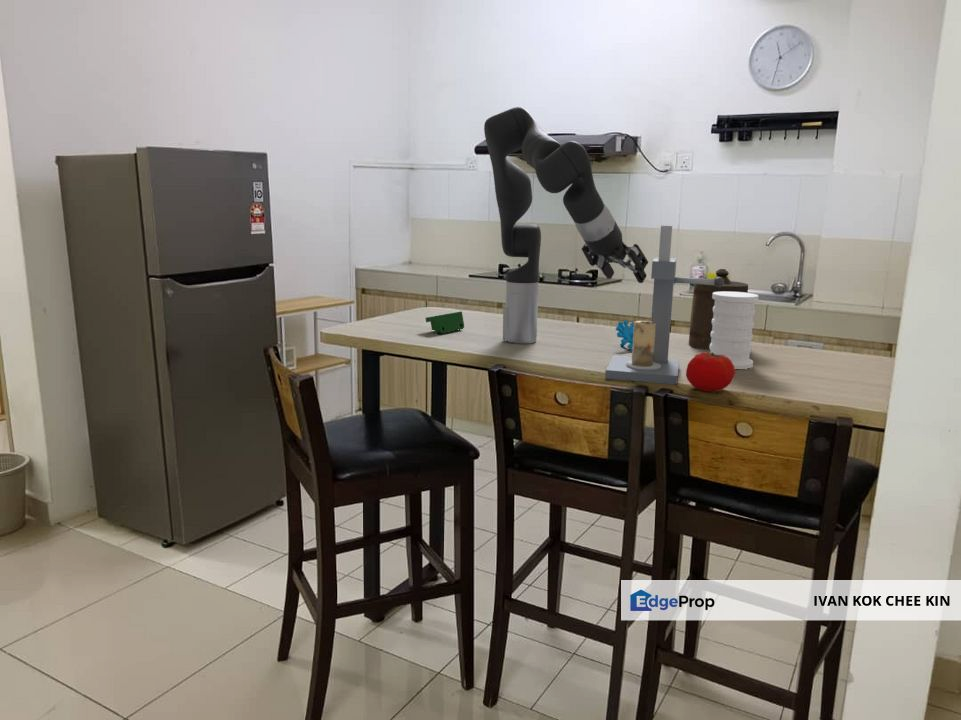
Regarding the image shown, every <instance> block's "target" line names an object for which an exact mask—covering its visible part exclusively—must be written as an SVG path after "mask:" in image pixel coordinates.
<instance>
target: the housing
mask: <svg viewBox="0 0 961 720" xmlns="http://www.w3.org/2000/svg"><path fill="white" fill-rule="evenodd" d="M633 323H634V327H633V328H634V334H633V348H632V349H631V350H632V352H631V357H632V365H635V366H641V367H649V366H653V359H654V345H655V331H656V323H655V322H651V320H650V321H649V320H635V321H633Z"/></svg>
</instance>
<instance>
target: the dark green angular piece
mask: <svg viewBox="0 0 961 720" xmlns="http://www.w3.org/2000/svg"><path fill="white" fill-rule="evenodd" d="M429 322H430V326H431V331H432V330H435V331H434V332H435V334H437V333H443V334H447V333H446V332H448V333H451V332H450V331H453V332H455V331H454V330H458V329H463V328H464V329H465V321H464V315H463V311H457V312H450V313H445V314H439V315H433V316H429V317H428V316H427V317H425V323H429ZM464 329H463V330H464ZM458 331H459V330H458Z"/></svg>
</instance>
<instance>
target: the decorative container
mask: <svg viewBox="0 0 961 720" xmlns="http://www.w3.org/2000/svg"><path fill="white" fill-rule="evenodd" d="M712 298H713V299H714V300H715V304H714V307H713V313H714V316H713V319H712V325H713V327H712V331H711V334H710V335H711V343H710V346H709V348H710V350H709V351H710V352H709V353H712V352H713V353H714V354H716V355H725V356H726V357H728V358H729V359H730V360H731V361H732V363H733V365H734V369H745V370H748V369H747V368H750V369H752V368H753V367H754V361H753V360H752V359H751V358H750V356H751V355H750V354H751V352H752V345H751V344H752V340H753V338H754V336H753V335H754V334H753V328H754V326H755V323H754V322H755V321H754V317H755V314H756V308H755V305H756V302H758V301H759V294H756V293H752V292H747V293H745V292H729V291H723V292H713V295H712ZM751 367H752V368H751Z"/></svg>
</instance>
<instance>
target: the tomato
mask: <svg viewBox="0 0 961 720" xmlns="http://www.w3.org/2000/svg"><path fill="white" fill-rule="evenodd" d="M698 352H700V353H699V354H695V355H694V357H693V358H691V360H690V361H689V362H688V364H687V367H686V371H685V377H686V380H687V381H688V382H689V384H690V385H691V386H692V387H693V388H696V389H697V390H699V391H704V392H710V393H711V392H719V391H722V390H723V389H725V388H727V387H728V386H729V385H730V384H732V381H733V379H734V378H735V373H736V370H735V369H734V365H733V363H732V361H731V360H730V359H729V358H728V357H726V356H725V355H716V354H714V353H713V352H712V353H710V352H706V351H705V352H702V351H699V350H698Z"/></svg>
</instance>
